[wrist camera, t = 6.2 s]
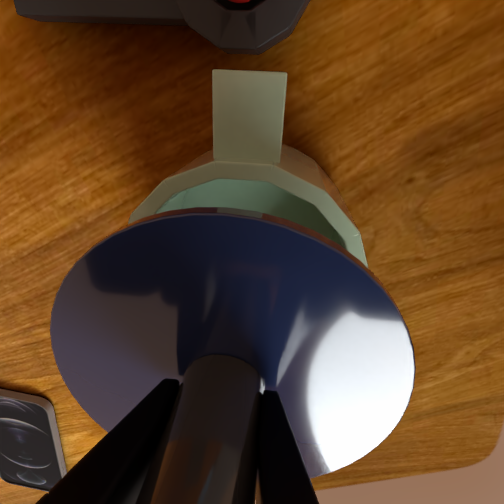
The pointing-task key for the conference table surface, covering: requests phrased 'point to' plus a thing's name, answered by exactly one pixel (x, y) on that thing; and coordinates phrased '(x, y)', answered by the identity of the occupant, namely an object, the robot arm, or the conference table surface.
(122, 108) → the conference table surface
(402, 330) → the lid
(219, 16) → the control block
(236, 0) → the button
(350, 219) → the pot
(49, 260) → the conference table surface
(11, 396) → the smartphone
